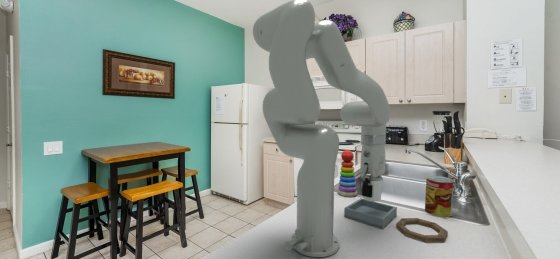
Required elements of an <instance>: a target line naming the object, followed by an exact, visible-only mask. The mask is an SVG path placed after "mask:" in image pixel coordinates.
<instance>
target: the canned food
mask: <svg viewBox="0 0 560 259" xmlns="http://www.w3.org/2000/svg"><path fill="white" fill-rule="evenodd" d="M425 178H426V180H425V203H424V211H425V213H426V214H428V215H431V216H434V217H438V218H451V217H452V216H453V198H454V182H455V181H454V179H452V178H450V177H446V176H441V175H440V176H439V175H428V176H426V177H425ZM450 216H451V217H450Z"/></svg>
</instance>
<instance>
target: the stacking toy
mask: <svg viewBox="0 0 560 259" xmlns="http://www.w3.org/2000/svg"><path fill="white" fill-rule="evenodd" d="M340 157H341V160H342V161H341V164H340V165H341V167H340V171H339V174H340V175H339V181H338V190H337V193H338V194H339V195H340V196H343V197H347V198H349V197H350V198H351V197H352V198H353V197H356V196H357V195H358V191H357V189H358V187H357V180H356V179H357V178H356V176H355V174H356V173H355V167H354V164H355V163H354V162H353V160H354V158H355V156H354V153H353V151H351V150H349V149H345V150H343V151H342V152H341V154H340Z"/></svg>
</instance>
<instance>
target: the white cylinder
mask: <svg viewBox="0 0 560 259" xmlns="http://www.w3.org/2000/svg"><path fill="white" fill-rule="evenodd" d="M366 178H368V180H369V177H366ZM383 183H384V178H383V177H382V178H381V177H379V176H377V177H373V179H372V184H371V185H373V189H372V197H371V198H369V197H365V196H362V199H365V200H368V201H374V202H379V201H381V199H382V192H383Z"/></svg>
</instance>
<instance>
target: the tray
mask: <svg viewBox="0 0 560 259" xmlns="http://www.w3.org/2000/svg"><path fill="white" fill-rule="evenodd" d="M397 210H398V207H397V206H394V205H391V204H390V205H389V204H386V203H382V202H379V201H368V200H365V199H364V198H363V197H361V198H359V199H357V200H355V201H354V202H351V204H349V205H347V206H345V207H344V215H343V217H344V218H347V219H350V220H353V221H355V222H359V223H362V224H366V225H369V226H372V227H375V228H379V229H381V230H383V229H385V228H386V227H387V226H388V225H389V224H390V223H391V222H392V221H393V220H394V219H395V218H397V215H398V214H397V213H398V212H397Z"/></svg>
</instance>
